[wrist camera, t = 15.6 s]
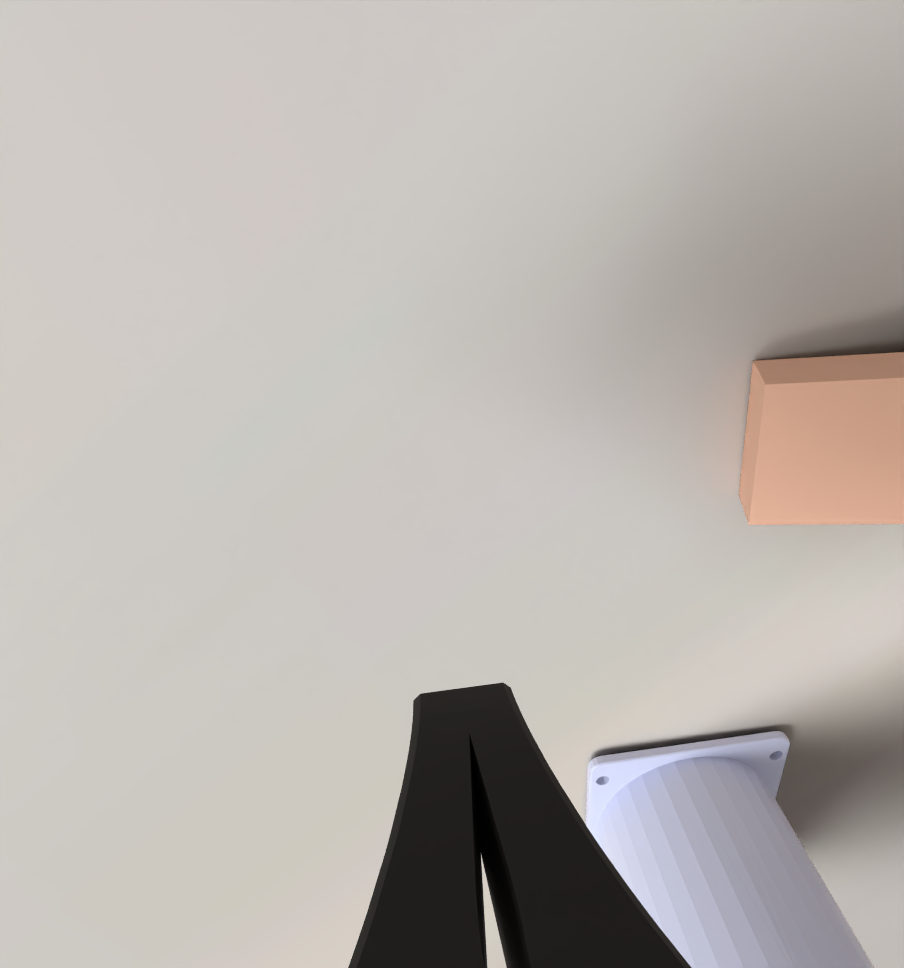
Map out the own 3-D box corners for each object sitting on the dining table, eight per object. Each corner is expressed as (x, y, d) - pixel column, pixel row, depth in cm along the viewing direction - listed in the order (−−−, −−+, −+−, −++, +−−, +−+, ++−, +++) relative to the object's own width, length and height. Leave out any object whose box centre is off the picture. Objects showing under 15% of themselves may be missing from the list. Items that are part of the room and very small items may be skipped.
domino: (753, 360, 18) (1025, 344, 17) (739, 494, 20) (977, 490, 19) (765, 384, 17) (1061, 369, 15) (748, 524, 19) (1005, 523, 18)
